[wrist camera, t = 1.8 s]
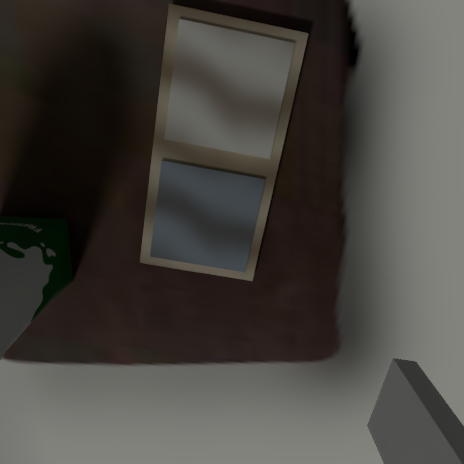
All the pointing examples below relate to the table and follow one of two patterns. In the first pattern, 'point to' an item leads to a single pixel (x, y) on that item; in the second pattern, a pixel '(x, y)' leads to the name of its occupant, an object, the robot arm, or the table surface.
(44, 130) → the table surface
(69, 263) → the milk carton
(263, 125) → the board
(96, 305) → the table surface
